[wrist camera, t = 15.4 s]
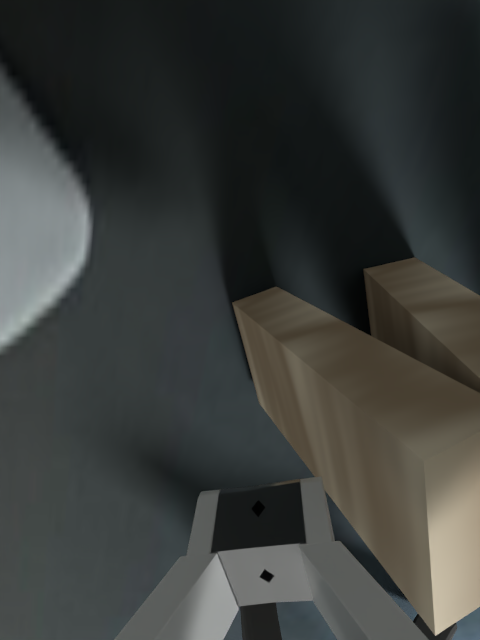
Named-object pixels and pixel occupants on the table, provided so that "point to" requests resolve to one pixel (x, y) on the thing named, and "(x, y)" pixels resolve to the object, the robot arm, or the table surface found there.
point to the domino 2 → (426, 317)
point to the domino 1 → (377, 444)
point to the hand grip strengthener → (265, 629)
